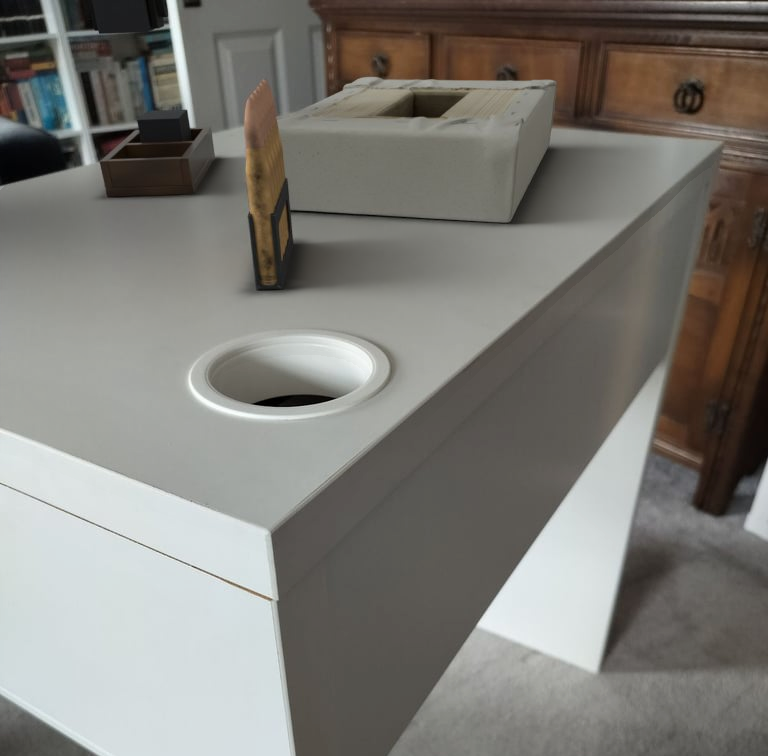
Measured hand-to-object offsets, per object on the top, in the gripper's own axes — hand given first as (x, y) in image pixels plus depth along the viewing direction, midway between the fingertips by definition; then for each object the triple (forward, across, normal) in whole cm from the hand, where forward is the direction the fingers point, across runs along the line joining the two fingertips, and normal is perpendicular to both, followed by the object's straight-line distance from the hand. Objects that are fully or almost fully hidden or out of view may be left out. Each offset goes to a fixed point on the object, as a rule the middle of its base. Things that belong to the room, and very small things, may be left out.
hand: (129, 25), depth 72 cm
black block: (0, 0, 0) cm, 0 cm away
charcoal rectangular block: (+13, 0, +9) cm, 16 cm away
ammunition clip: (+14, +14, -26) cm, 33 cm away
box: (+14, +27, +1) cm, 31 cm away
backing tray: (+14, 0, +5) cm, 15 cm away
